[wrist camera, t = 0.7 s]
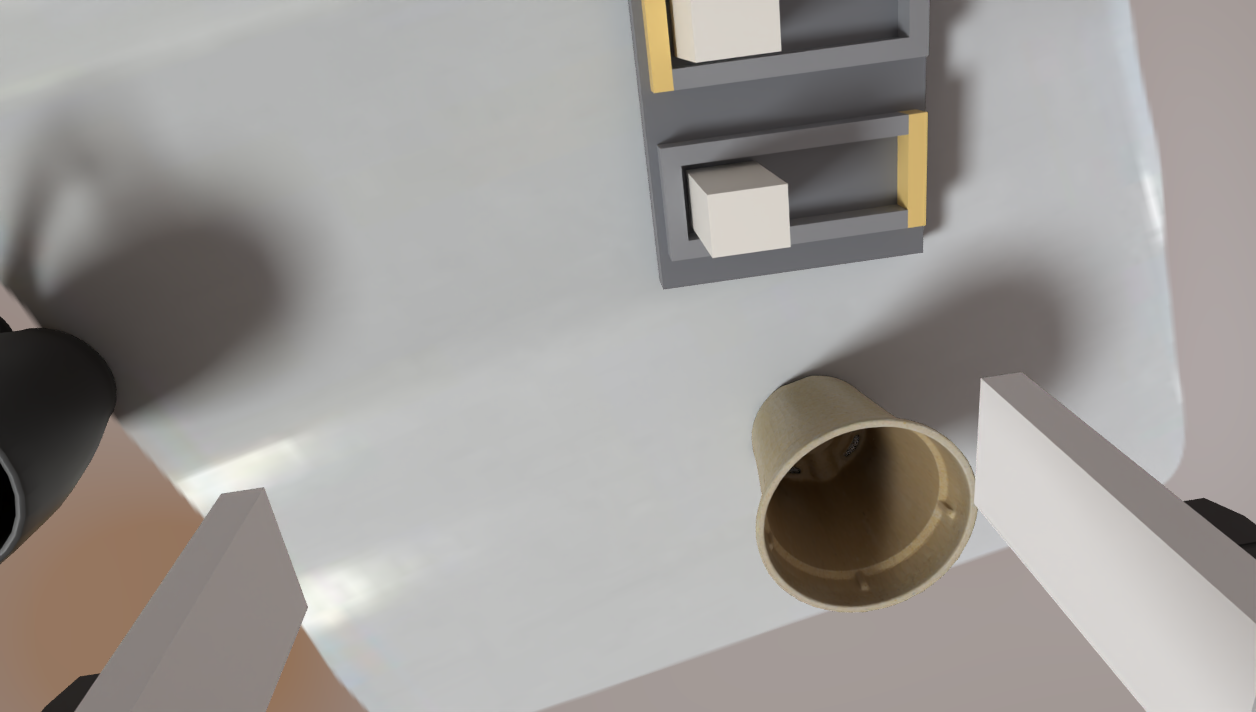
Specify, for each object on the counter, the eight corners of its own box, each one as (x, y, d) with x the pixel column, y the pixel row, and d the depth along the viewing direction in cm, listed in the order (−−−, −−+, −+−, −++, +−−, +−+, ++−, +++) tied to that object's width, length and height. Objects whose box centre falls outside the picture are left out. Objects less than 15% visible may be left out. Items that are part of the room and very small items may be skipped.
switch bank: (595, -291, 30) (598, -319, 28) (915, -330, 30) (947, -361, 28) (659, 280, 38) (666, 297, 36) (909, 244, 39) (934, 259, 36)
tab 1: (668, -8, 32) (689, -14, 27) (743, -18, 32) (777, -25, 27) (674, 56, 33) (695, 62, 28) (747, 46, 33) (781, 50, 28)
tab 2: (685, 170, 35) (707, 195, 30) (754, 160, 35) (787, 183, 30) (690, 225, 36) (712, 258, 31) (758, 215, 36) (790, 247, 31)
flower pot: (723, 344, 40) (764, 424, 32) (910, 339, 41) (996, 416, 33) (715, 509, 44) (750, 618, 36) (888, 501, 44) (960, 607, 36)
